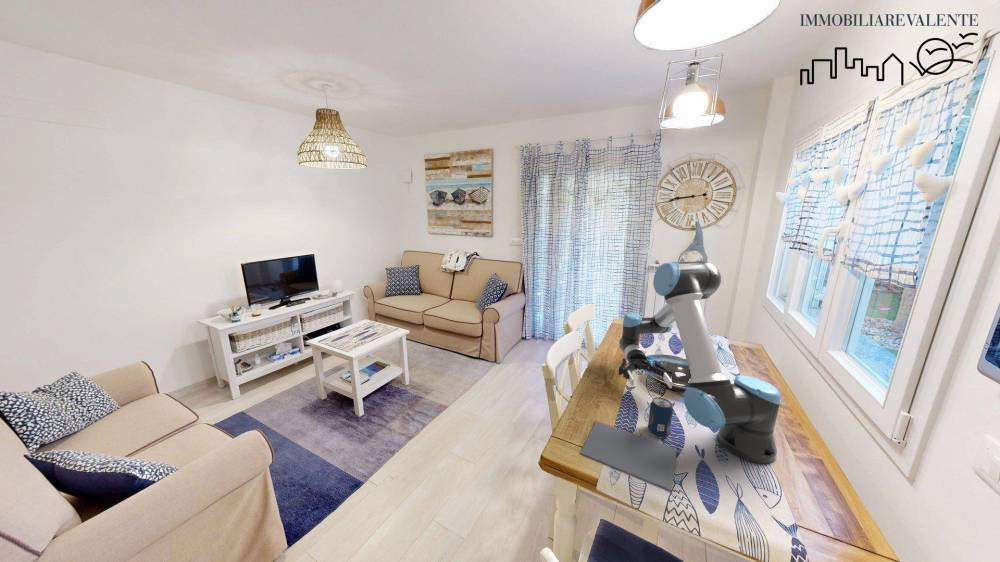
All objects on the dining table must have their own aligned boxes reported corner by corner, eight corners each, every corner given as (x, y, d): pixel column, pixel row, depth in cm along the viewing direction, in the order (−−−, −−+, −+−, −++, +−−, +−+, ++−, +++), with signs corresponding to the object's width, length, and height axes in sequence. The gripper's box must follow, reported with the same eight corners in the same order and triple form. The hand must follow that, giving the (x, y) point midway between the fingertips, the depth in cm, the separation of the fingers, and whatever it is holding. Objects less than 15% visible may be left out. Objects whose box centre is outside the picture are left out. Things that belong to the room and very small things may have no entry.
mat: (676, 450, 101) (676, 448, 101) (671, 491, 87) (672, 490, 87) (596, 421, 115) (596, 420, 115) (580, 453, 100) (580, 452, 100)
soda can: (646, 423, 114) (650, 394, 111) (668, 428, 111) (672, 398, 109) (648, 436, 108) (651, 405, 105) (670, 441, 105) (675, 410, 102)
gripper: (664, 366, 136) (686, 395, 116) (605, 362, 139) (616, 390, 119) (666, 350, 134) (689, 377, 114) (606, 347, 137) (617, 372, 117)
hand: (651, 383), depth 116 cm, fingers open, 13 cm apart
